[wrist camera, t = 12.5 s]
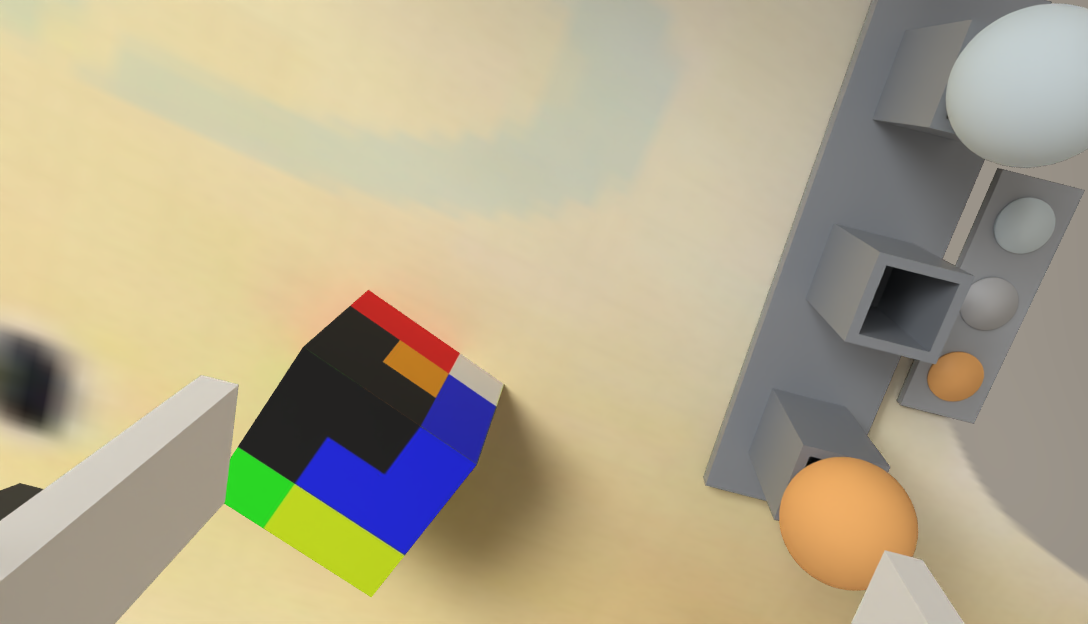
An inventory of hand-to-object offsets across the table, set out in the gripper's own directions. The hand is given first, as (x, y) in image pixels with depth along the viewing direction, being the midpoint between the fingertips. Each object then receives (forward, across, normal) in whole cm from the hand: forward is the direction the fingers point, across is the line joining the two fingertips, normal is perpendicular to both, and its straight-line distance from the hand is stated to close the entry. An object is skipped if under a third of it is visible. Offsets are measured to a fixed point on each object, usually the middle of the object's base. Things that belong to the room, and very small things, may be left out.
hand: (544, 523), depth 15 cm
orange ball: (+18, +15, -8) cm, 25 cm away
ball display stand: (+29, +15, +2) cm, 32 cm away
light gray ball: (+18, +15, +12) cm, 26 cm away
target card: (+29, +22, +2) cm, 37 cm away
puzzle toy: (+29, -9, -13) cm, 33 cm away
